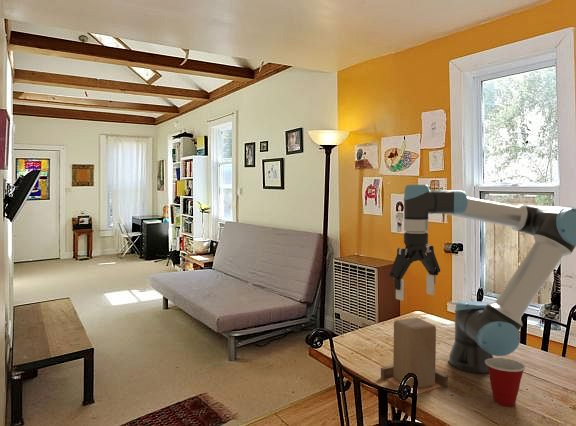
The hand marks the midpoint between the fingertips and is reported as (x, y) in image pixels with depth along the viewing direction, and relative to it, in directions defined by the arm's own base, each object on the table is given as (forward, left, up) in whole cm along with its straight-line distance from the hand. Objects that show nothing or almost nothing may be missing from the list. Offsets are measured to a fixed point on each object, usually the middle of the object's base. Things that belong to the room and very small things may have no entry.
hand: (415, 296), depth 134 cm
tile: (0, +1, -29) cm, 29 cm away
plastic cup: (-24, +12, -29) cm, 39 cm away
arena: (0, +1, -29) cm, 29 cm away
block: (0, +1, -29) cm, 29 cm away
